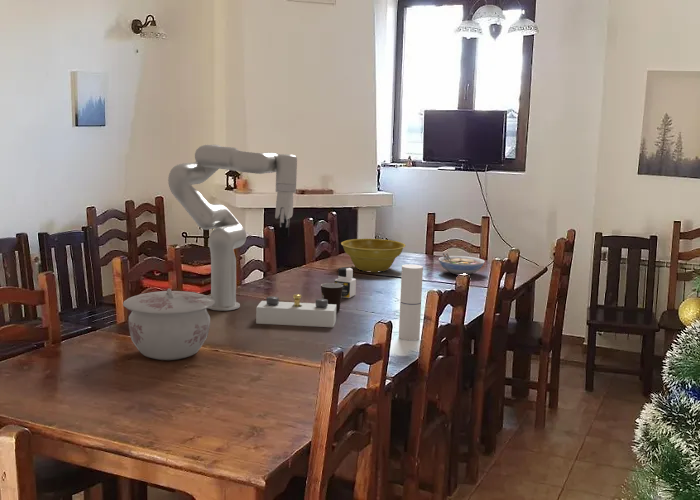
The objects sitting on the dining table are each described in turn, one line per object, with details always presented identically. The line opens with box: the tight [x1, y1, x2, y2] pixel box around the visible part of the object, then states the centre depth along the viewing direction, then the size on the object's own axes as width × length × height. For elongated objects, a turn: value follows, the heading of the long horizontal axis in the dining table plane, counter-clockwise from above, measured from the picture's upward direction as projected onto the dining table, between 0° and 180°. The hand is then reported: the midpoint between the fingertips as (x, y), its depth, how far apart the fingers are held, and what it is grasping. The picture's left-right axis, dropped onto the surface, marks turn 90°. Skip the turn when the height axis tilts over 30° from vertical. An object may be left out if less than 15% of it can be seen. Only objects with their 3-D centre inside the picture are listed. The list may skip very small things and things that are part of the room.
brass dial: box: [292, 293, 302, 307], centre depth 276 cm, size 3×3×5 cm
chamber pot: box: [122, 288, 215, 361], centre depth 234 cm, size 28×28×21 cm
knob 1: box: [266, 296, 280, 306], centre depth 277 cm, size 4×4×8 cm
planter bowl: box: [340, 238, 406, 273], centre depth 379 cm, size 32×32×13 cm
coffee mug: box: [320, 282, 343, 313], centre depth 297 cm, size 12×9×10 cm
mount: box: [255, 300, 337, 328], centre depth 277 cm, size 28×10×6 cm, turn 86°
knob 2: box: [315, 298, 328, 308], centre depth 276 cm, size 4×4×8 cm
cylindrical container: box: [398, 263, 424, 341], centre depth 260 cm, size 7×7×25 cm
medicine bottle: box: [333, 266, 357, 299], centre depth 321 cm, size 7×7×12 cm
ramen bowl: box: [438, 253, 486, 275], centre depth 376 cm, size 25×23×8 cm
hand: (284, 237), depth 282 cm, fingers closed
